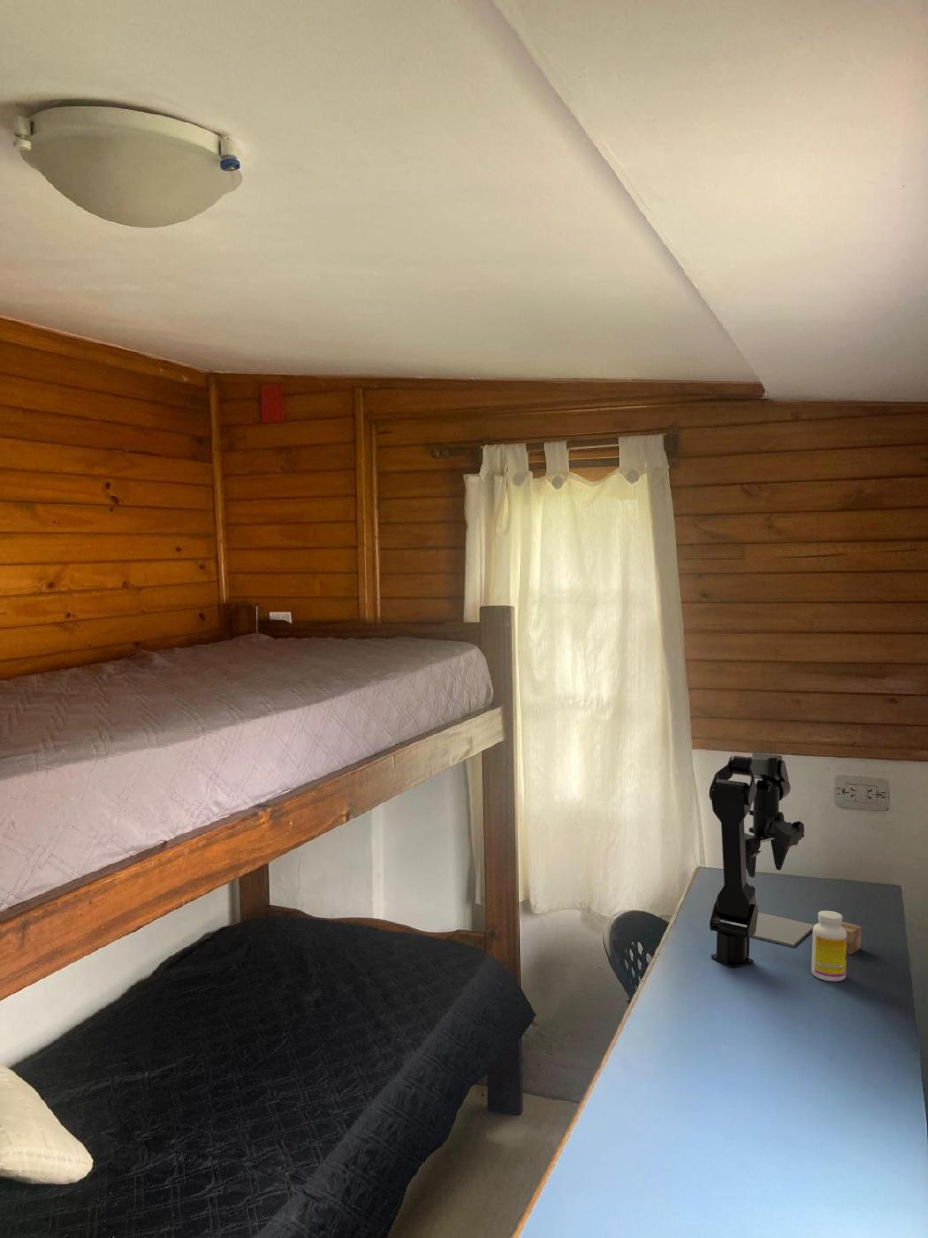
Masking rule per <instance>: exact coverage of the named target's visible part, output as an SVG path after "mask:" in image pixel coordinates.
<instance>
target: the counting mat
mask: <svg viewBox="0 0 928 1238" xmlns="http://www.w3.org/2000/svg"><path fill="white" fill-rule="evenodd" d="M729 924H733V925H738V926H742V927H747V925H743V924H738V923H734V922H730V923H729ZM814 925H815V924H811V923H807V922H803V921H799V920H795V919H790V918H785V917H780V916H776V915H771V914H767V913H763V912H759V911H758V918H757V925H756V933H755V934H754V935H753V936H752V937H751V938H752V939H757V940H761V941H766V942H769V943H773V944H777V943H778V945H782V946H787V947H790V948H794V947H795V946H797V945H798V944H799V943H800V942H801V941H802V940H803V939H804V938H805V937H806V936H807V935H808V934H810V932H813V927H814Z"/></svg>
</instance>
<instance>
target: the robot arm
mask: <svg viewBox="0 0 928 1238" xmlns="http://www.w3.org/2000/svg"><path fill="white" fill-rule="evenodd" d="M734 775H735V776H744V777H745V776H746V777H749V780H750V782H749V784H748V782H744V781H736V780H730V779H732V777H733V776H734ZM756 779H757V781H756ZM791 788H792V787H791V784H790V782H789V775H788V769H787V766H786V762H785V760H783V756H782V755H780V754H773V753H765V752H764V753H763V752H756V751H755V752H753V753H751V754H750V755H749V756H743V755H734V756H732V755H731V756H730V757H729V759H728V762H727V764H726V765H725V766H723V767H722V768H720V769H719V770H717V771H716V772H715V774H714V777H713V779H712V781H711V785H710V786H709V793H708V795H709V796H708V797H709V799H710V801H711V808H712V809H711V810H712V812H713V814H714V815H715V817H716V818H717V819H718V821H719V822H720V827H721V846H722V847H721V851H722V868H723V872H722V873H723V887H722V888H721V890H720V891H719V893H718V894H717V896H716V900H715V903H713V908H712V911H711V917H710V920H709V928H710V931H712V932H713V931H714V932H716V953H713V954H711V955H710V958H711V959H714V960H715V961H718V962H720V963H721V964H723V965H725V966H727V967H730V968H738V967H741V966H745V965H749V964H753V963H754V962H755V961H754V959H753V958H750V940H751V938H752V936H753V935H754V934H755V933H756V925H757V918H758V912H759V906H758V905H759V904H757V900H756V888H755V886H754V885H751V884H749V883H748V882H747V881H748V880H747V874H748V877H750V878H755V876H756V870H757V869H756V868H757V867H756V866H757V856H759V854H761V852H762V850H760V848H761V845H762V844H761V843H764V842H765V843H766V842H769V841H770V846H771V850H772V855H773V856H772V857H773V862H774V866H775V869H776V870H777V871H781V870H782V868H783V865H784V863H785V859H786V857H787V854H788V852H789V850H790V848H791V847H793V846H798V844H799V842H800V840H802V839H803V838H804V837H805V824H804V823H803V822H802V821H800V820H797V821H793V822H790V821H789V822H787V821H785V815H784V812H781V811H780V801H782V800H783V799H784V798H786V797H787V796H788V795H789V794H790V792H791ZM752 806H753V807H752ZM747 815H749V816H751V817H752V827H749V829H748V833H751V834H748V833H747V832H746V833H745V818H746V816H747ZM752 834H753V835H752ZM723 921H724V922H723ZM727 922H730V923H732V922H734V923H738V924H743V925H747V927H742V926H738V925H733V924H730V923H727Z"/></svg>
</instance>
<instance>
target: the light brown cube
mask: <svg viewBox="0 0 928 1238" xmlns="http://www.w3.org/2000/svg"><path fill="white" fill-rule="evenodd" d="M841 926H842V927H843V928H844V929H845V930H846V932H847V951H846V954H848V955H852V954H854V953H855V952H857V951H859V950H860V949H861V940H862V939H861V937H862V936H861V935H862V926H859V925H856V924H853V923H848V922H845V921H842V923H841Z"/></svg>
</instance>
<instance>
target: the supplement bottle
mask: <svg viewBox="0 0 928 1238" xmlns="http://www.w3.org/2000/svg"><path fill="white" fill-rule="evenodd" d="M817 920H818V922H817V923H815V924H813V925H814V927H813V930H812V935H811V936H812V942H811V943H812V946H811V973H812V974H813V976H814V977H816V978H817V979H819V980H821V981H826V982H842V981H843V980H845V979H846V977H847V953H846V951H847V932H846V930H845V929H844V928H843V927H842V926H841V923H842V922H843V915H842V914H841V913H839V912H836V911H833V910H832V911H831V910H820V911H819V912H818V913H817Z"/></svg>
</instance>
